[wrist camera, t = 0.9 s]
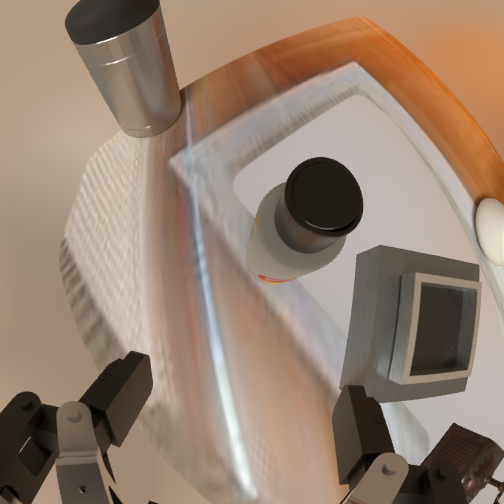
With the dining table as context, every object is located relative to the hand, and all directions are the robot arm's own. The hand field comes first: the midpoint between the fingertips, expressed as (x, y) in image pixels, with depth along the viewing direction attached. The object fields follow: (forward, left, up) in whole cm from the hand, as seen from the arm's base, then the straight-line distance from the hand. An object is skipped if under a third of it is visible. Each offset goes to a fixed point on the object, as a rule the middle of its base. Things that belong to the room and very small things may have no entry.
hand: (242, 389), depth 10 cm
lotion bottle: (-9, +3, -20) cm, 22 cm away
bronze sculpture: (+21, +39, -20) cm, 48 cm away
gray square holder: (-3, +21, -20) cm, 29 cm away
